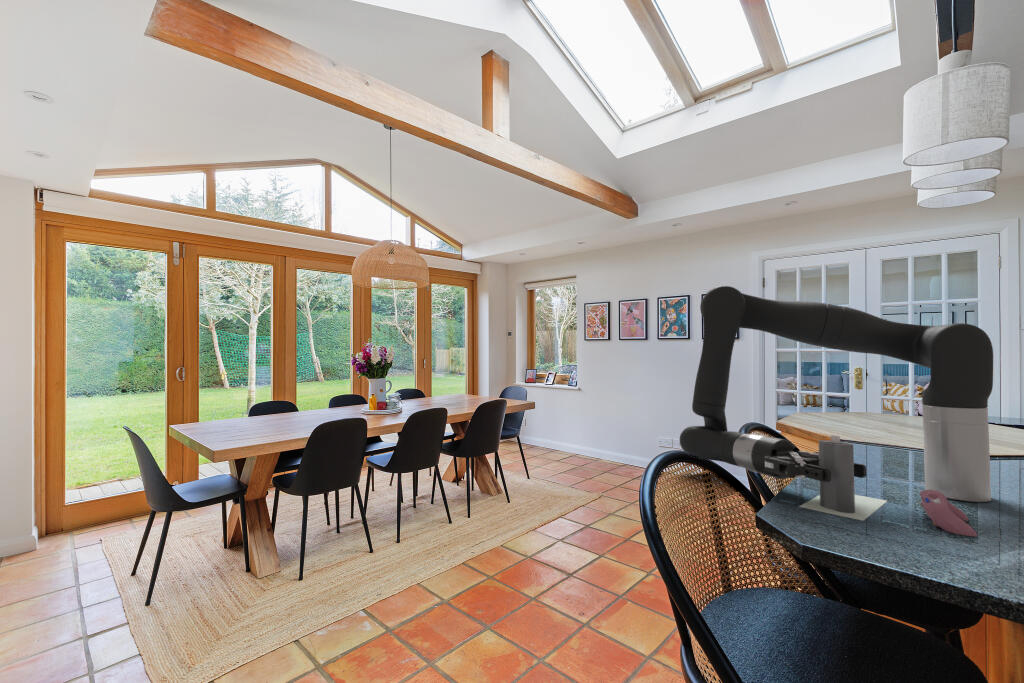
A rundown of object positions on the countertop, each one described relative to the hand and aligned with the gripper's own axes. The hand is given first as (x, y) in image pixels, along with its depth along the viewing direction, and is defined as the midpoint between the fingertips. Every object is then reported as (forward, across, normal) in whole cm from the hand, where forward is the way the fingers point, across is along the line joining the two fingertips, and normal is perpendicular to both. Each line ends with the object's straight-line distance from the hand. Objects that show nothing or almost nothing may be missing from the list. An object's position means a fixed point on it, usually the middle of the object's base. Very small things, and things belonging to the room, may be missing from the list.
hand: (847, 473), depth 76 cm
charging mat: (-3, +4, +7) cm, 9 cm away
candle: (-2, 0, +6) cm, 6 cm away
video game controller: (+9, +9, +8) cm, 14 cm away
